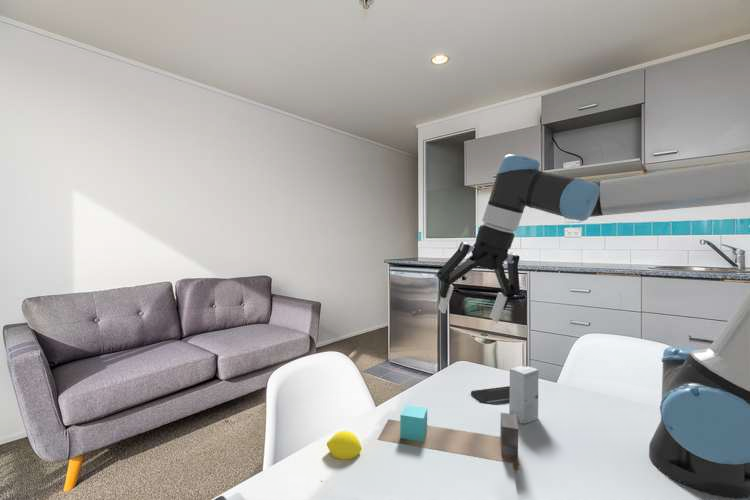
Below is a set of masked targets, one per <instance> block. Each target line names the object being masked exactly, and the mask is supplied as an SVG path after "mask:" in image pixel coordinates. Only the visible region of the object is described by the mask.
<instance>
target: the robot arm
mask: <svg viewBox="0 0 750 500" xmlns="http://www.w3.org/2000/svg"><path fill="white" fill-rule="evenodd" d="M540 165H541V163H540V161H539V160H537V159H535V158H531V157H528V156H527V157H526V156H523V155H518V154H507V155H505V156H504V157H503V159H502V162H501V164H500V166H499V168H498V171H497V173H496V175H495V176H496V177H495V178H494V179H495V180H494V183H493V187H492V189H491V193H490V196H489V199H488V201H487V205H486V208H485V210H484V214H483V217H482V220H481V221H482V223H483V224H482V223H481V225H479V228H478V232H477V234H476V238H475V243H474V244H473V245H472V244H468V243H467V242H465V241H461V242H460V244H459V247H458V249H457V250H456V251H455V252H454V254H453V255H452V256H451V257H450V258H449V259H448V260H447V261H446V263H445V264H444V265H443V266H442V267H441V268H440V269H439V270H438V272H437V273H436V274H435V277H436V278H437V279H439V280H440V282H441V286H440V289H439V296H440V300H439V303H438V306H437V309H438V310H439V311H440V312H441V313H442V314H446V311H447V310H448V305H449V303H450V300H451V297H452V294H453V291H454V286H453V284H454V283H456V282H457V281H458V280H460V278H462V277H464V276H465V275H466V274H467V273H469V272H471V271H472V270H473V269H476V268H478V267H479V268H480V269H481V268H482V269H489V270H491V271H493V272H494V273H495V276H496V278H497V281H498V284H499V286H500V290H501V292H499V291H498V293H497V296H496V299H495V301H494V304H493V307H492V309H491V312H490V314H489V318H490V319H491V320H492V321H493V322H494V323H497V324H498V323H499V321H500V319H501V316H502V312H503V310H505V309H506V308H508V307H507V306H508V303H509V301H510V299H513V298H514V297H515V296H516V297H517V296H520V295H521V287H520V276H519V275H520V274H519V262H520V259H521V258H520V255H518V254H516V253H514V252H510V253H508V252H509V249H511V248H512V244H513V241H514V239H515V233H514V232H516V231H518V228H519V225H520V222H521V220H522V216H523V213H524V210H525V207H528V208H530V209H535V210H539V211H542V212H545V213H549V214H551V215H556V216H558V217H563V218H565V219H568V220H575V221H579V222H584V221H586V220H588V219H589V218H592V217H600V216H602V217H603V216H612V215H613V216H614V215H622V214H623V215H624V214H633V213H634V214H635V213H645V212H657V211H667V210H670V211H671V210H679V209H687V208H688V209H690V208H700V207H701V208H702V207H703V208H704V207H713V206H723V205H734V204H736V205H737V204H745V203H750V158H749V159H743V160H737V161H736V160H735V161H727V162H722V163H715V164H709V165H700V166H695V167H694V166H692V167H687V168H680V169H673V170H672V169H671V170H665V171H658V172H653V173H644V174H639V175H632V176H626V177H624V176H623V177H618V178H610V179H603V180H598V181H597V180H596V181H588V180H584V179H583V178H575V177H570V176H565V175H560V174H555V173H554V174H553V173H551V172H550V173H549V172H545V171H542V170H540ZM470 252H471V254H472V255H470V256H468V257H467V258H466V256H467V255H469V254H470ZM465 258H466V260H465V261H464V262H463V260H464V259H465ZM505 261H506V265H507V267H506V268H507V274H508V275H507V276H506V273H505V267H504V265H503V263H504V262H505ZM462 262H463V263H462ZM507 277H508V278H507ZM661 362H662V374H661V375H662V378H661V379H662V380H661V401H660V406H659V411H660V422H659V424H658V426H657V428H656V430H655V432H654V434H653V436H652V438H651V440H650V441H649V447H648V448H649V449H648V456H649V460H650V461H651V463H652V464H653V465H654V466H655V467H656V468H657V469H658V470H659V471H660V472H662V473H663V474H665V475H667V476H668V477H669V478H672V479H674V480H675V481H677V482H679V483H682V484H684V485H686V486H688V487H689V488H693V489H696V490H698V491H701V492H704V493H709V494H712V495H715V496H721V497H725V498H726V497H727V498H737V499H738V498H747V497H750V289H749V290H748V291H747V293H746V294H745V296H744V297H743V299H741V301H740V303H739V304H738V305H737V307H736V308H735V309H734V311H733V312H732V314H731V316H730V317H729V318H728V320H727V322H726V323H725V324H724V325H723V327H722V329H721V330H720V331H719V333H718V335H717V336H716V337H715V339H713V341H712V343H711V344H710V345H709V347H707V348H703V349H700V348H693V347H684V346H683V347H682V346H669V347H666V348H665V349H664V350H663V354H662V357H661Z"/></svg>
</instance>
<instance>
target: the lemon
mask: <svg viewBox="0 0 750 500" xmlns="http://www.w3.org/2000/svg"><path fill="white" fill-rule="evenodd" d="M326 446H327V449H328V450H329V452H330V454H331V456H332V457H334V458H335V459H338V460H343V461H345V460H348V461H349V460H350V459H351V460H352V459H354V458H356V457H357V456H359V454H360V453H361V451H362V446H361V442H360V440H359V438H358V436H357V435H355V433H353V432H350V431H346V430H343V431H338V432H336V433H334V435H332V437H331V438H330V439H329V440H328V441H327V442H326Z"/></svg>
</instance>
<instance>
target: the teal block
mask: <svg viewBox="0 0 750 500" xmlns="http://www.w3.org/2000/svg"><path fill="white" fill-rule="evenodd" d="M399 419H400V420H399V421H400V438H403V439H409V440H415V441H421V442H424V438H425V435H426V432H427V425H428V407H422V406H416V405H410V404H405V405H404V406H403V408H402V411H401V413H400V416H399Z"/></svg>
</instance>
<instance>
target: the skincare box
mask: <svg viewBox="0 0 750 500" xmlns="http://www.w3.org/2000/svg"><path fill="white" fill-rule="evenodd" d="M509 386H510V401H509V403H508V405H509V411H508V412H509V413H508V414H515V415H516V418H517V423H520V424H523V425H524V424H528V423H530V422H532V421H535V420H537V419H538V418H539V369H537V368H535V367H531V366H528V365H525V364H524V365H519V366H516V367H512V368H510V369H509Z"/></svg>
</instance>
